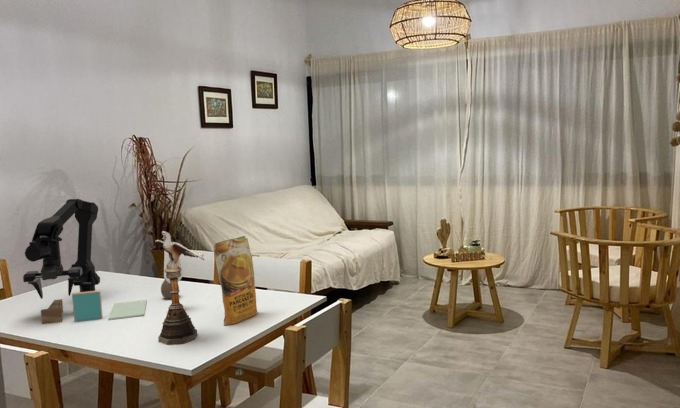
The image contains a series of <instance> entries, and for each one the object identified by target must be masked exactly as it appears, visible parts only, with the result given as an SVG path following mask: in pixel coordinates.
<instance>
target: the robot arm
mask: <svg viewBox="0 0 680 408" xmlns="http://www.w3.org/2000/svg"><path fill="white" fill-rule="evenodd" d="M98 213H99V207H98V205H97V204H96V203H95V202H91V201H85V200H83V199H79V198H68V199H67V200H66V201H65V203H64V205H62V206H61V207H60V208H59V209H58V210H57V211H56V212H55V213H54V214H53V215H51V216H50V217H47V218H44V219H42V220H40V221H39V222H38V223H37V225H36V227H35V231H34V233H33V237H32V239H31V241H30V242H29V245H28V246H26V249H25V251H24V256H25V258H26V259H27V260H28V261H30V262H34V263H35V262H38V261H40V260H42V266H41V269H40V271H39V270H30V271H27V272H25V274H23V275H22V276H23V277H22V279H23V283H27V284H28V285H32V286H33V288H34V289H35V290H36V292H37V294H38V296H39V298H40V299H41V300H42V299H43V298H44V294H43V288H42V281H41V280H43V281H48V280H56V279H57V278H58V277H63V276H67V277H68V278H67V283H68V285H67V289H68V290H67V293H68V296H69V297H70V296H71V295H72V290H73V286H74V287H76V286H79V292H87V291H96V286H97V285H100V282H101V277H100V275H98V273H97V272H96V267H95V265H94V263H93V261H92V242H93V241H92V240H93V239H92V238H93V237H92V236H93V224H94V223H95V222H96V220H97V218H98ZM72 216H74V218H75V219H76V221H77V223H78V232H77V233H78V237H77V259H76V261H75V262H74V263H73V264H71V267H69V269H67V270H66V269H65V270H64V266H63V264H62V258H61V257H62V256H61V249H60V247H61V246H60V242H62V241H63V238H61V237H60V235H61V233H62V232H63V230H64V225H65V224H66V223H67V221H69V219H71V218H72Z"/></svg>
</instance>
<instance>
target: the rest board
mask: <svg viewBox="0 0 680 408" xmlns="http://www.w3.org/2000/svg"><path fill="white" fill-rule="evenodd" d="M147 303H148V300H147V299H140V300H132V301H123V302H115V303H113V305H112V308H111V311H110V314H109V315H108V321H111V320H121V319H128V318H138V317H145V314H146V309H147V308H146V307H147Z"/></svg>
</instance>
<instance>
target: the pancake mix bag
mask: <svg viewBox="0 0 680 408" xmlns="http://www.w3.org/2000/svg"><path fill="white" fill-rule="evenodd" d="M213 256H214V261H215V265H216V272H217V278H218V281H219V284H220V288H221V296H222V304H223V309H224V318H223V325H224V326H228V325H235V324H238V323H240V322H243V321H245V320H248V319H251V318H253V317H255V316H257V315H258V314H257V313H258V309H257V293H256V283H255V281H256V280H255V270H254V264H253V263H254V262H253V258H252V253H251V250H250V245H249V240H248V238H247V237H246V235H243V236H239V237H236V238H230V239H226V240H221V241H219V242H216V243H214V246H213Z"/></svg>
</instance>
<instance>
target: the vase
mask: <svg viewBox="0 0 680 408" xmlns="http://www.w3.org/2000/svg"><path fill="white" fill-rule="evenodd" d="M179 287H180V286H179V285H178V290H180V288H179ZM170 291H171V284H170V283H169V282H168V281H166V279H165V278H164V280H163V282H162V283H161V286H160V293H161V295H162V297H163V298H164V299H165V300H172V298H171V293H170Z"/></svg>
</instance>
